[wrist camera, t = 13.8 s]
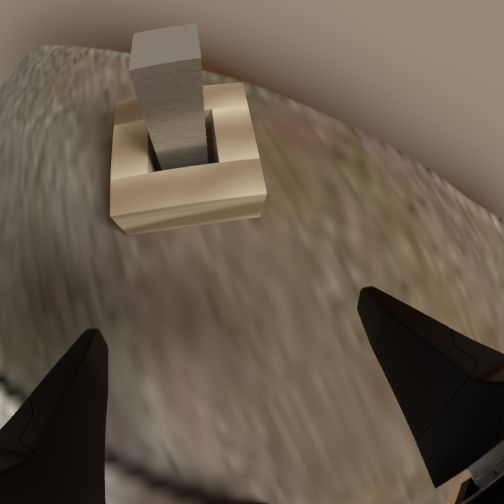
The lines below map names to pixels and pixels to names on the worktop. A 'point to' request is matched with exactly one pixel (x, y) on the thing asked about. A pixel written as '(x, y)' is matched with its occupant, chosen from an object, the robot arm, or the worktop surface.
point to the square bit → (171, 93)
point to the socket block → (187, 169)
